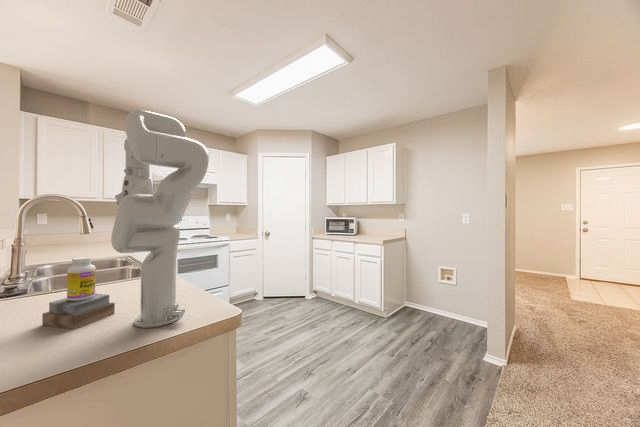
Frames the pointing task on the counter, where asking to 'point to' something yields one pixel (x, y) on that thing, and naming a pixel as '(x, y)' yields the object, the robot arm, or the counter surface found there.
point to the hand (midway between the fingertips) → (137, 218)
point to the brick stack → (78, 312)
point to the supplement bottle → (81, 279)
